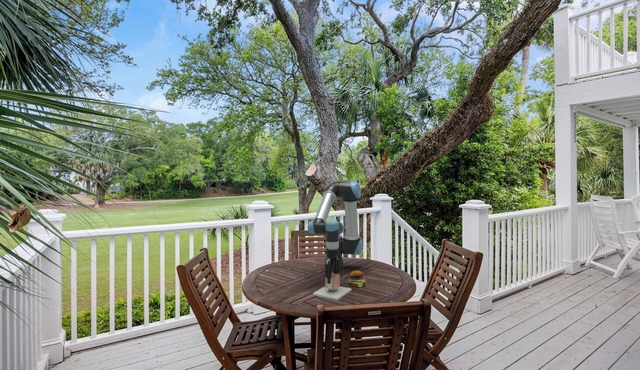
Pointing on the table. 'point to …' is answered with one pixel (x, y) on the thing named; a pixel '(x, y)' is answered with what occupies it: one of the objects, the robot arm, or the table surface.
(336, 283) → the tan wooden block
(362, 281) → the cheeseburger
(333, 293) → the post board
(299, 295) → the table surface
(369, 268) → the table surface
